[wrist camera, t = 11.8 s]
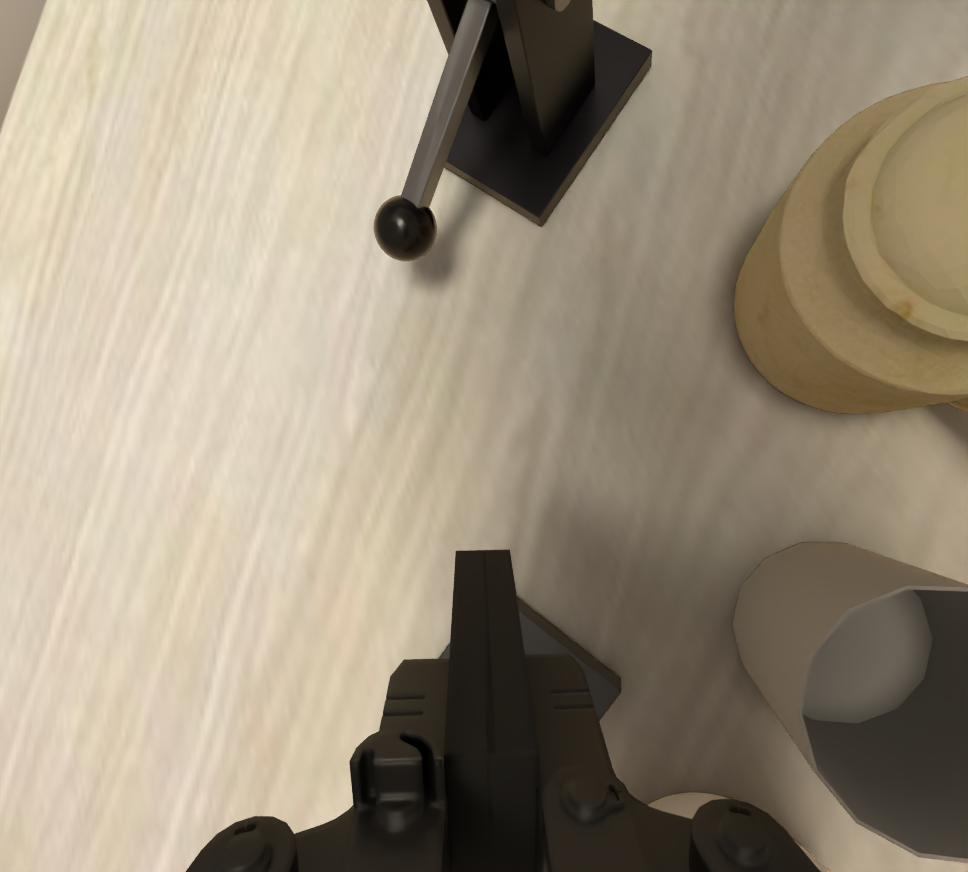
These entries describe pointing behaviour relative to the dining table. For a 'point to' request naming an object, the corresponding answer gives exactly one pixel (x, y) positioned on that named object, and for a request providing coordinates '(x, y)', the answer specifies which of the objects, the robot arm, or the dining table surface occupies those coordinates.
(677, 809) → the tall pillar cylinder
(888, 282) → the sugar bowl
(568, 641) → the button block
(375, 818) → the robot arm
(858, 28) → the dining table surface
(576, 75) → the bracket
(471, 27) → the lever
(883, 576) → the cup
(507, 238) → the dining table surface
